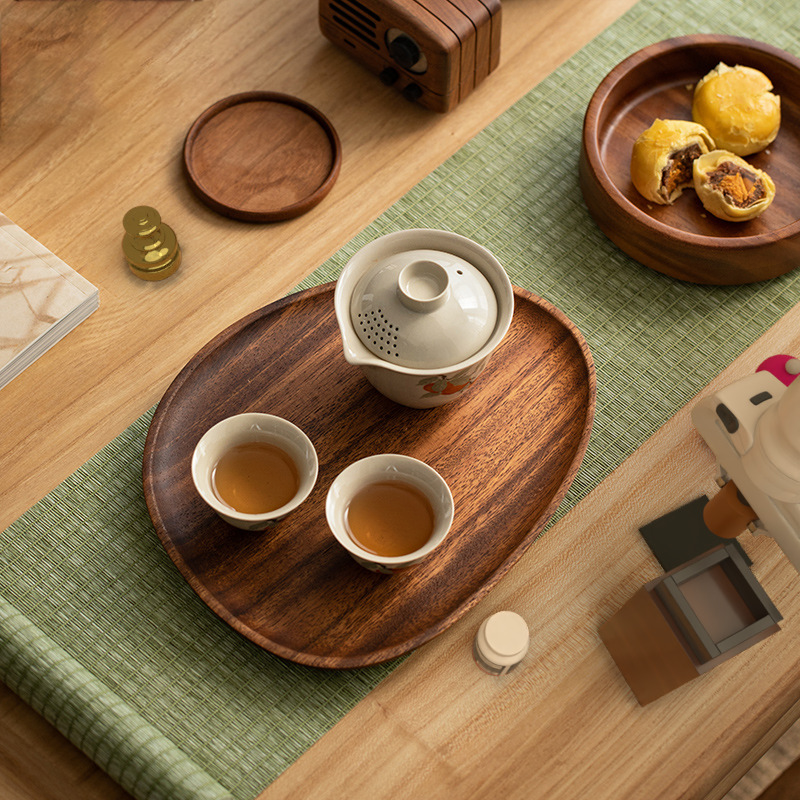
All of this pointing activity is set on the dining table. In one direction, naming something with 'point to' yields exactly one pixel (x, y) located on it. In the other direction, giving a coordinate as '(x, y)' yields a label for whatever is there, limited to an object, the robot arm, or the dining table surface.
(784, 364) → the pepper mill
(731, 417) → the robot arm
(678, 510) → the slate mat
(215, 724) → the dining table surface
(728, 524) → the amber bottle
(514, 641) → the pill bottle
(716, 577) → the stand
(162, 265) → the brass knob weight
